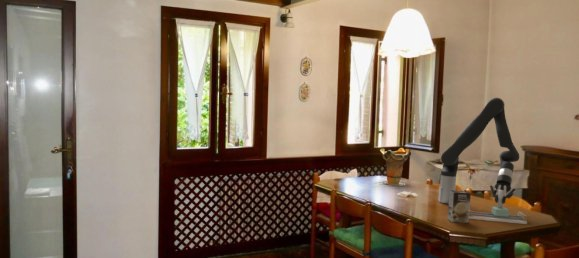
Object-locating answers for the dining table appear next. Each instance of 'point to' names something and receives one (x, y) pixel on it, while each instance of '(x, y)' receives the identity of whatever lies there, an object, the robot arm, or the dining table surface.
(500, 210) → the carriage
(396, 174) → the decorative vase
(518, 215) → the rail track
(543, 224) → the dining table surface
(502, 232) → the dining table surface
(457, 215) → the coffee box
